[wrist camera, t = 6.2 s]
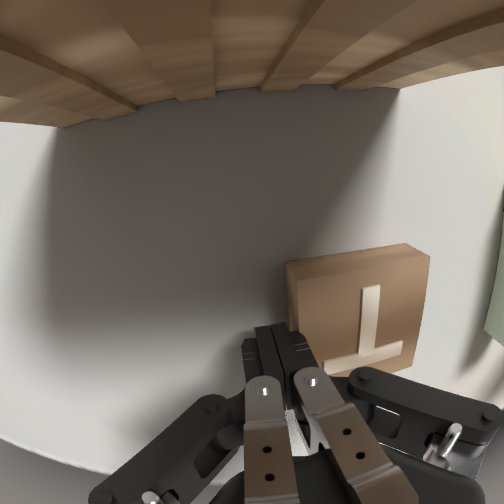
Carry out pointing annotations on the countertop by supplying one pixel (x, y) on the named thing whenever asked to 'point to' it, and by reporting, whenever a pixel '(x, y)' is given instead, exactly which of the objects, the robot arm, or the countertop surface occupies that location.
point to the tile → (359, 307)
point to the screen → (227, 49)
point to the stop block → (497, 300)
